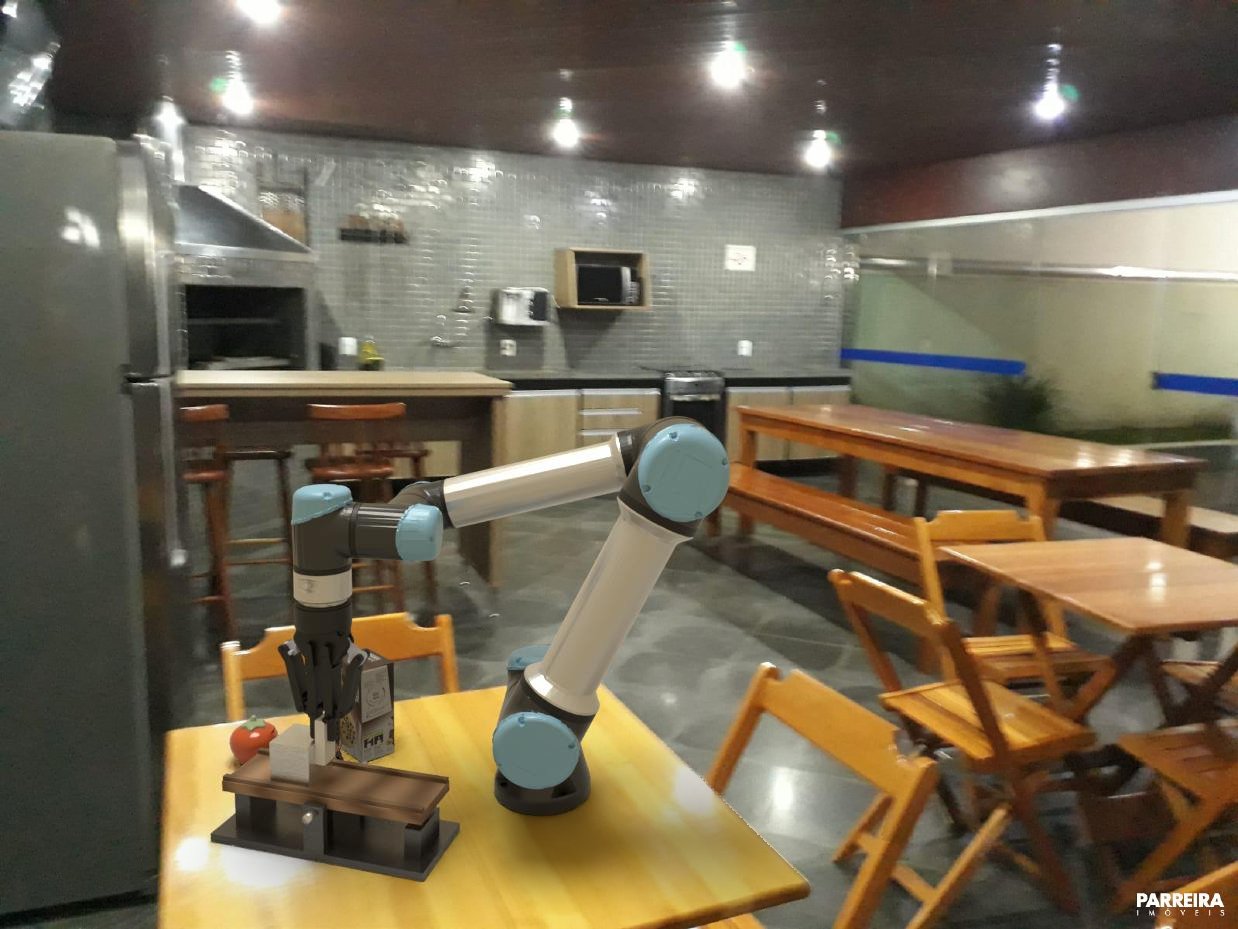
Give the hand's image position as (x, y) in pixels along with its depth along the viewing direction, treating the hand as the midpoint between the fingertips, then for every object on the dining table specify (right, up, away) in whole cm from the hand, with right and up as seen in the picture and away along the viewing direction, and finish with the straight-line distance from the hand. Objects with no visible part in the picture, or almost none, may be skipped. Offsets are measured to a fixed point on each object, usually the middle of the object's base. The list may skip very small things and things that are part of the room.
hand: (325, 760), depth 121 cm
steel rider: (-4, -3, +1) cm, 5 cm away
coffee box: (-2, -7, +27) cm, 28 cm away
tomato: (-19, -8, +21) cm, 29 cm away
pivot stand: (+1, -11, +2) cm, 12 cm away
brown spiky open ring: (-7, -9, +18) cm, 21 cm away
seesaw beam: (+1, -4, 0) cm, 5 cm away
